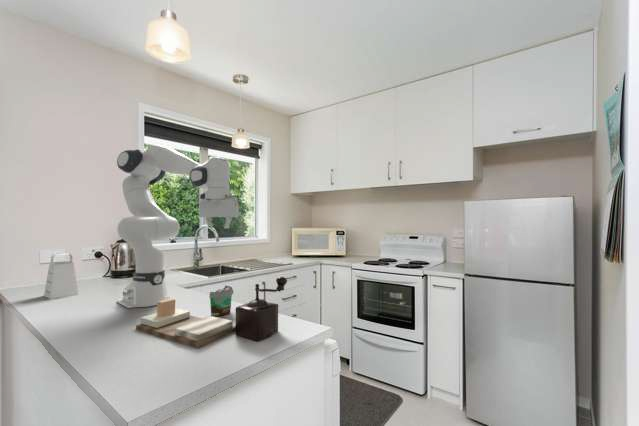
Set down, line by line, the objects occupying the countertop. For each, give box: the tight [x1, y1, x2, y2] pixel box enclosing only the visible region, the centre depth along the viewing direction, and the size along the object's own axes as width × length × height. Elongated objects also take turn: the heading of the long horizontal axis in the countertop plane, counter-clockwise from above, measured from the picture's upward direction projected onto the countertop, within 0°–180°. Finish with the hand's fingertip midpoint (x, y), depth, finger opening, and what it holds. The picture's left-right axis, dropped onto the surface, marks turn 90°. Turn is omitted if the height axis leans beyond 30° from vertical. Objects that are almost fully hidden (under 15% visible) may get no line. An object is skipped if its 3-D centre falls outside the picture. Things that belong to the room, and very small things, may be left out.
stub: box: [140, 297, 191, 328], centre depth 109 cm, size 9×13×7 cm
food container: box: [208, 285, 234, 318], centre depth 121 cm, size 12×6×10 cm, turn 168°
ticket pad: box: [135, 314, 235, 349], centre depth 103 cm, size 31×16×4 cm, turn 62°
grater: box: [43, 253, 79, 300], centre depth 148 cm, size 10×10×20 cm
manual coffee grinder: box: [234, 276, 288, 343], centre depth 103 cm, size 16×11×18 cm
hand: (218, 228), depth 127 cm, fingers open, 8 cm apart
